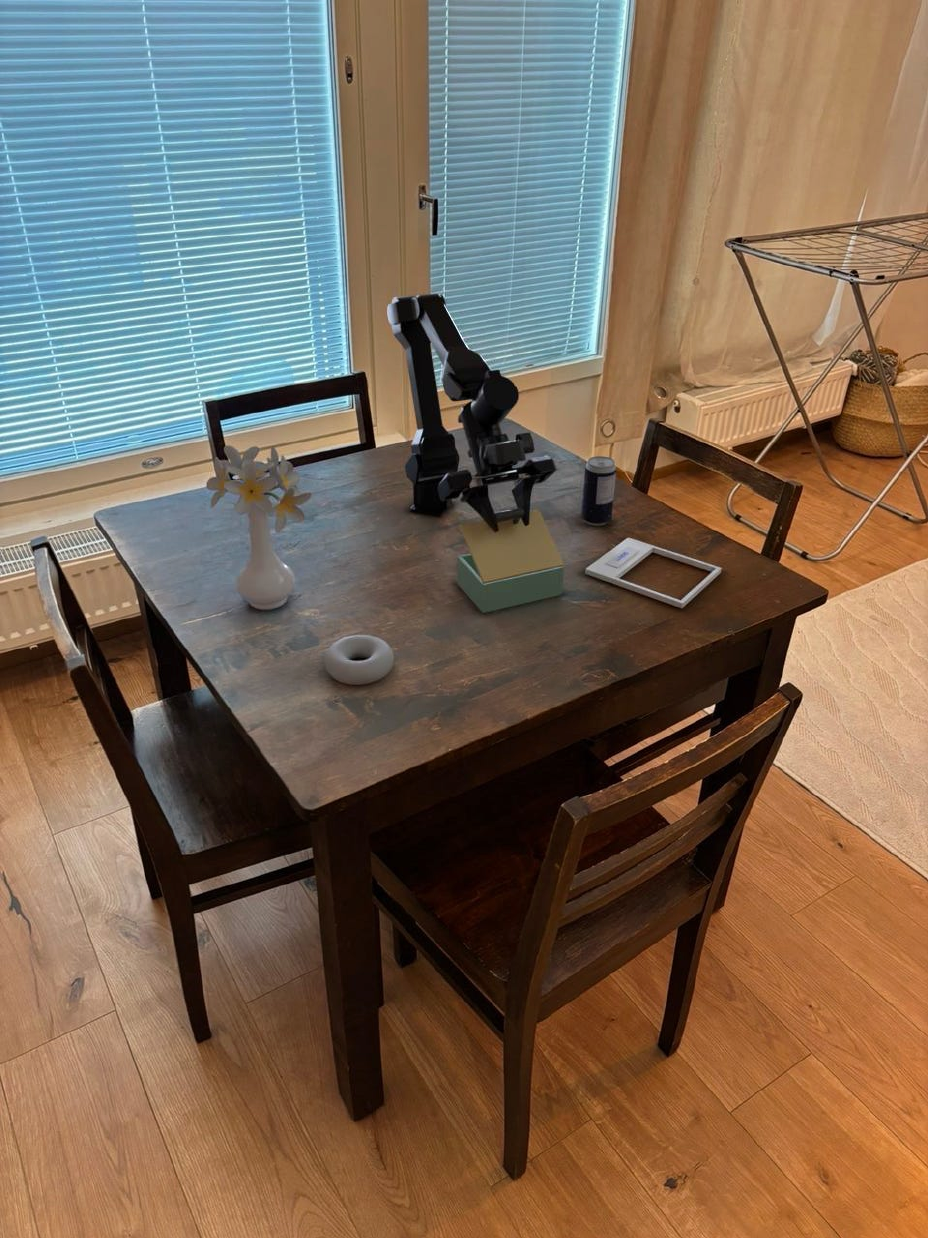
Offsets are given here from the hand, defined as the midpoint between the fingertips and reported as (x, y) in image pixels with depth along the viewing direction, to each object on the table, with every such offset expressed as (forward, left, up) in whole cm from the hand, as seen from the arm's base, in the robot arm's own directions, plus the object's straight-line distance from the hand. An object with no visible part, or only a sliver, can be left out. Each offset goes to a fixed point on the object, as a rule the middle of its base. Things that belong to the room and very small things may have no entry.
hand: (511, 528), depth 145 cm
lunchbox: (0, 0, -11) cm, 11 cm away
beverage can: (+7, +30, -12) cm, 33 cm away
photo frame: (+21, +14, -11) cm, 28 cm away
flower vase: (-34, -17, -12) cm, 40 cm away
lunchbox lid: (0, 0, -3) cm, 3 cm away
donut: (-13, -29, -12) cm, 34 cm away
